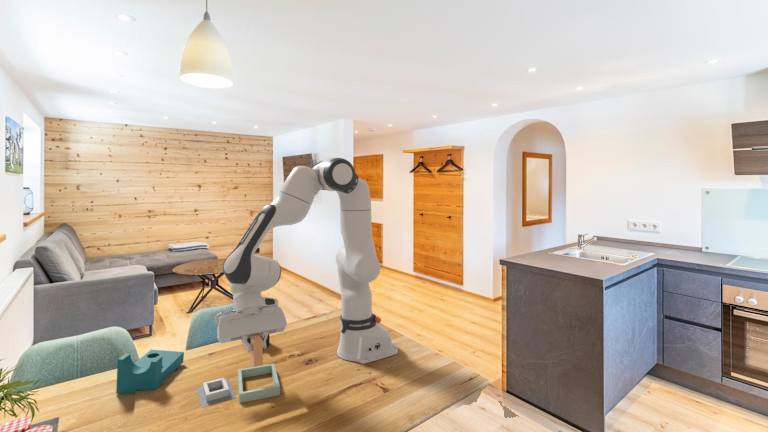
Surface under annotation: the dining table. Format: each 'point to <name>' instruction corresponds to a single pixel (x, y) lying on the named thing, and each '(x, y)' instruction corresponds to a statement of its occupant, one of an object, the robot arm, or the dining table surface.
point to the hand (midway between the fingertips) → (257, 349)
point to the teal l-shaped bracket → (146, 370)
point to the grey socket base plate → (215, 392)
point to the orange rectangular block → (257, 350)
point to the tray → (260, 392)
